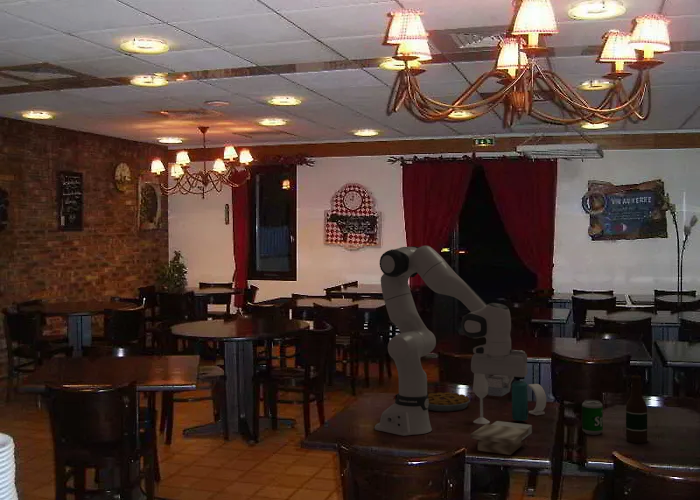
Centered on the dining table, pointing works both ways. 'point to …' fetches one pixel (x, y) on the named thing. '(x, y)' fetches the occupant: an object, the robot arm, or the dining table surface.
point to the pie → (447, 401)
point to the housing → (497, 385)
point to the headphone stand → (538, 399)
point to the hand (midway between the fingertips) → (499, 387)
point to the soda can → (592, 417)
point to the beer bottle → (636, 414)
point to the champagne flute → (480, 394)
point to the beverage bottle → (519, 400)
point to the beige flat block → (515, 426)
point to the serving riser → (499, 438)
